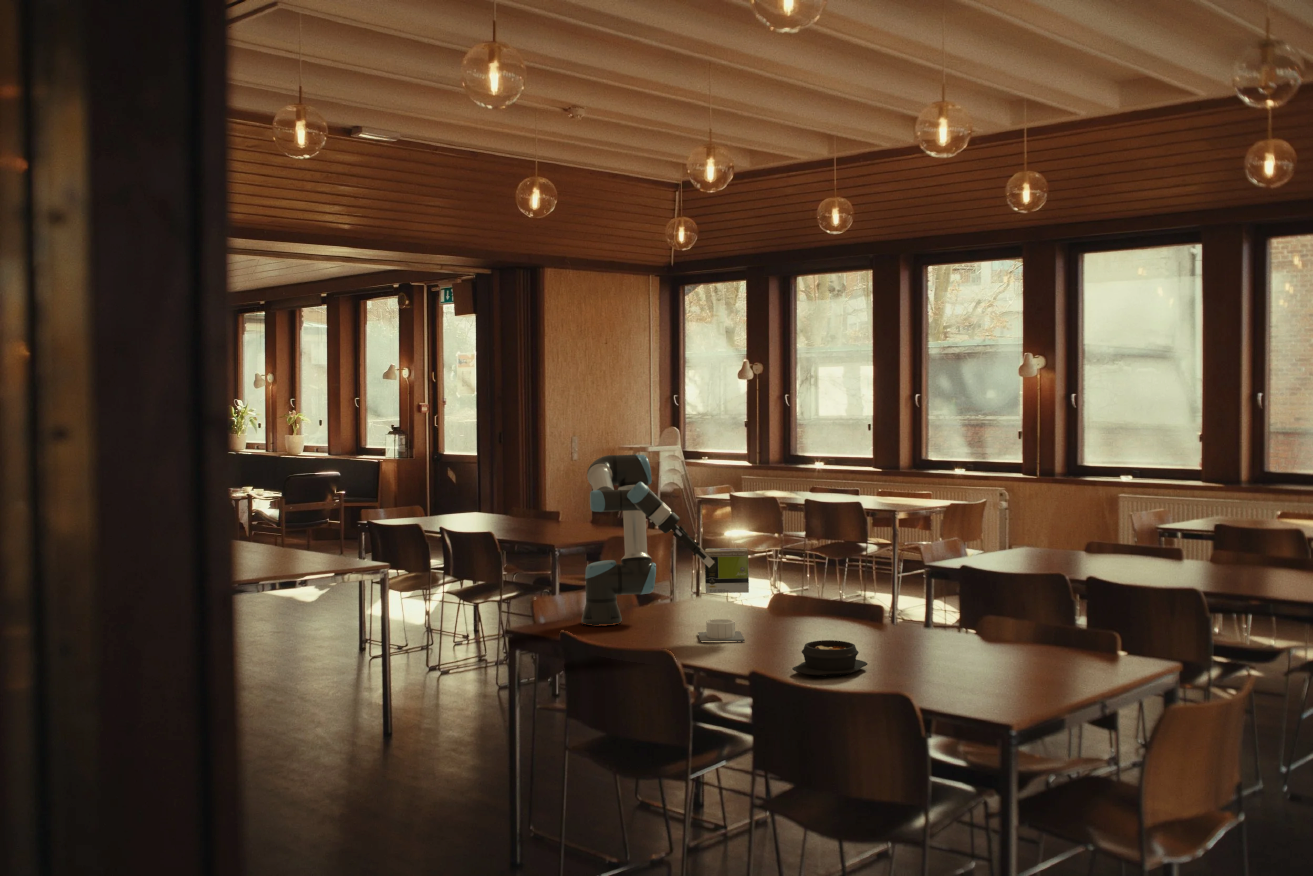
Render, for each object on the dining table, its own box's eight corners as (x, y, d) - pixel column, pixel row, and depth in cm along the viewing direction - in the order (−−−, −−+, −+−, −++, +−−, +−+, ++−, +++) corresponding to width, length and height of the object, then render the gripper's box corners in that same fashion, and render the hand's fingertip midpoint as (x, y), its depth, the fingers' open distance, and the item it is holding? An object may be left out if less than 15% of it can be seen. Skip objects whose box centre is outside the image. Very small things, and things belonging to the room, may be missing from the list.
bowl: (697, 635, 404) (697, 618, 404) (740, 634, 404) (739, 617, 404) (700, 643, 389) (700, 625, 389) (744, 642, 389) (744, 624, 389)
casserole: (823, 684, 327) (822, 655, 326) (778, 673, 341) (777, 645, 341) (882, 671, 342) (881, 643, 342) (836, 661, 357) (836, 635, 356)
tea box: (748, 589, 400) (748, 547, 400) (748, 593, 390) (748, 550, 390) (706, 589, 401) (705, 547, 401) (704, 593, 391) (704, 550, 391)
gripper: (656, 523, 407) (700, 566, 407) (658, 529, 384) (705, 575, 385) (670, 508, 407) (715, 551, 407) (673, 513, 384) (721, 559, 385)
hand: (710, 562), depth 396 cm, fingers closed on tea box, 10 cm apart
